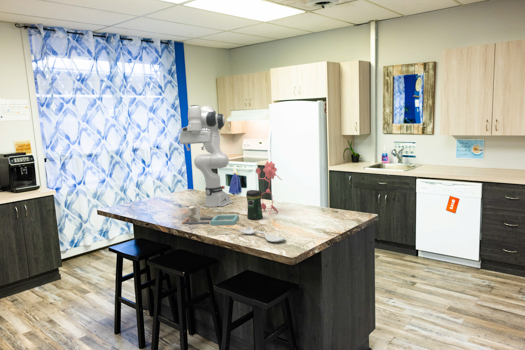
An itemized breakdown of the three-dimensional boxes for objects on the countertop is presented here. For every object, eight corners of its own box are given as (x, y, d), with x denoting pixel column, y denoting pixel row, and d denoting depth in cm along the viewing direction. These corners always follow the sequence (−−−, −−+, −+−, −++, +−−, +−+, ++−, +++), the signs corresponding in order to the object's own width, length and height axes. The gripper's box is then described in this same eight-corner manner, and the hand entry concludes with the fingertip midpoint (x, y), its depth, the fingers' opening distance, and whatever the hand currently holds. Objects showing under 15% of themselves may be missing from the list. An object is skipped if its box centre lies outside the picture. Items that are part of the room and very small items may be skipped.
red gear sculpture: (277, 216, 267) (275, 163, 262) (251, 210, 286) (249, 161, 282) (293, 212, 277) (292, 161, 272) (268, 207, 296) (266, 159, 292)
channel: (182, 224, 258) (181, 222, 258) (188, 219, 270) (187, 217, 270) (208, 224, 256) (208, 222, 256) (213, 219, 268) (213, 217, 267)
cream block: (189, 223, 261) (187, 208, 260) (191, 221, 266) (190, 206, 265) (198, 223, 260) (197, 207, 259) (200, 221, 265) (199, 206, 264)
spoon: (249, 230, 238) (249, 225, 238) (289, 241, 215) (288, 235, 214) (237, 234, 232) (237, 228, 232) (277, 245, 209) (276, 239, 208)
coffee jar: (264, 217, 266) (263, 189, 263) (257, 220, 260) (255, 191, 257) (253, 216, 272) (251, 188, 269) (245, 218, 265) (243, 190, 263)
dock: (210, 225, 254) (210, 221, 254) (216, 218, 269) (216, 215, 268) (234, 224, 252) (233, 220, 252) (238, 218, 267) (238, 214, 266)
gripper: (211, 129, 270) (212, 150, 269) (180, 130, 270) (181, 151, 269) (210, 127, 264) (210, 148, 262) (178, 128, 264) (179, 150, 263)
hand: (195, 150), depth 266 cm, fingers open, 8 cm apart
